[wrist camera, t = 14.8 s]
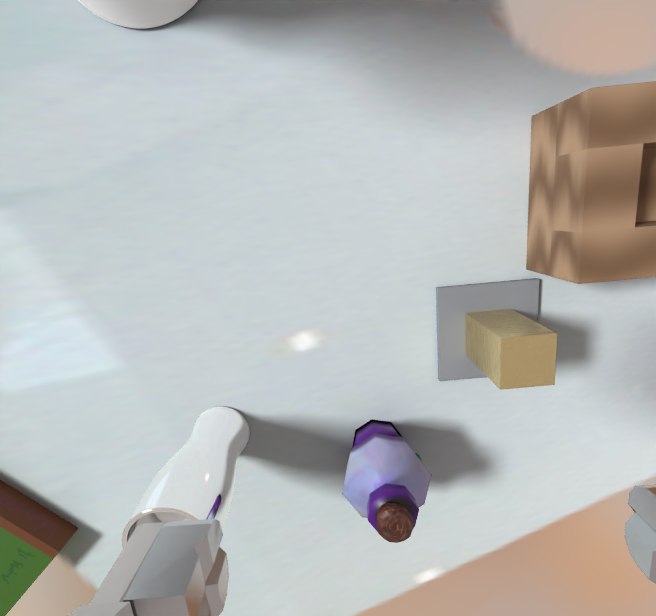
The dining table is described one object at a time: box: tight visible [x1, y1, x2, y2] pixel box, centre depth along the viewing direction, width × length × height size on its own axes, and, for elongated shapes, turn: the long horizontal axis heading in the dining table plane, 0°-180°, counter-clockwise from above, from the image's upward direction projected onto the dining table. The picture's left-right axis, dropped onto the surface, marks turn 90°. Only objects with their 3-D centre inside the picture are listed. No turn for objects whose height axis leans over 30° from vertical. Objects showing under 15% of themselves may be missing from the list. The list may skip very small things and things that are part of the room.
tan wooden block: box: [465, 309, 557, 389], centre depth 35 cm, size 4×4×8 cm
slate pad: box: [436, 278, 539, 381], centre depth 39 cm, size 10×10×1 cm
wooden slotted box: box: [526, 81, 656, 284], centre depth 32 cm, size 14×14×8 cm
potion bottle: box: [342, 420, 431, 543], centre depth 36 cm, size 9×9×12 cm
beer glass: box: [122, 406, 249, 549], centre depth 35 cm, size 7×7×15 cm
